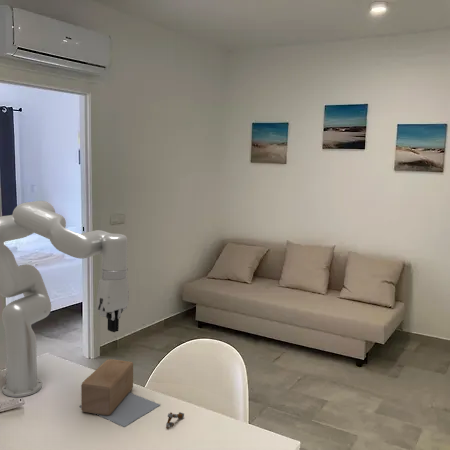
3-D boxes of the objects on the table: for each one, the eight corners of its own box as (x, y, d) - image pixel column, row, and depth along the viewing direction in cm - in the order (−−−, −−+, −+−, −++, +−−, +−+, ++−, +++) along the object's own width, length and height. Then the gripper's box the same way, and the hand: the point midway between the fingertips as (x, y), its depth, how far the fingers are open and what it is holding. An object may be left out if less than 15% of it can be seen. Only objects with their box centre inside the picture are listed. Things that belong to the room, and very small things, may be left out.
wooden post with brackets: (162, 427, 150) (166, 411, 151) (176, 426, 157) (179, 411, 158) (167, 429, 149) (171, 413, 150) (180, 427, 156) (184, 412, 157)
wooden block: (109, 386, 154) (134, 360, 173) (80, 382, 156) (107, 357, 175) (109, 417, 156) (134, 388, 175) (80, 412, 157) (107, 384, 177)
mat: (79, 406, 162) (79, 406, 161) (116, 387, 175) (116, 387, 175) (124, 427, 151) (124, 426, 151) (160, 405, 164) (160, 404, 164)
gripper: (122, 267, 162) (121, 321, 165) (87, 276, 150) (86, 334, 153) (140, 272, 158) (138, 327, 161) (104, 280, 146) (103, 340, 149)
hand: (112, 330), depth 157 cm, fingers closed
